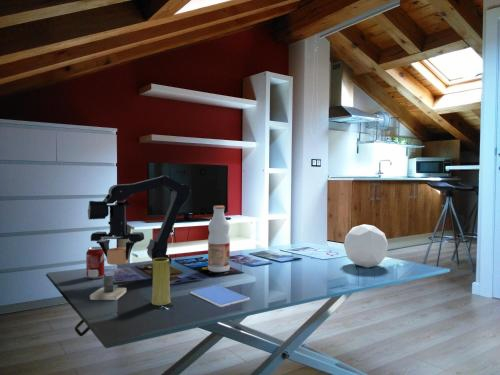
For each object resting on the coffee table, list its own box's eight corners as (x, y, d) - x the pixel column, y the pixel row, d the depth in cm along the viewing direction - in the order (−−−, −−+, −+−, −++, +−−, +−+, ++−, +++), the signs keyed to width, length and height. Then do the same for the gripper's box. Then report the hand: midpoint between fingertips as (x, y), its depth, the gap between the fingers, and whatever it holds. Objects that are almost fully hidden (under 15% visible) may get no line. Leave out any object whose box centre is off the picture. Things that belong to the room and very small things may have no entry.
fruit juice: (205, 268, 177) (205, 205, 176) (224, 266, 181) (224, 204, 180) (212, 273, 168) (212, 207, 167) (233, 271, 172) (233, 206, 171)
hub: (130, 260, 154) (130, 247, 154) (123, 264, 147) (123, 251, 147) (112, 260, 155) (112, 247, 155) (104, 264, 148) (104, 251, 148)
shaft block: (126, 292, 142) (126, 273, 141) (116, 300, 133) (116, 280, 132) (101, 291, 142) (101, 273, 142) (90, 299, 133) (89, 280, 133)
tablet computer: (251, 301, 134) (251, 297, 134) (220, 309, 126) (220, 305, 126) (218, 288, 149) (218, 284, 149) (188, 294, 141) (188, 291, 141)
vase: (153, 299, 133) (152, 257, 133) (171, 299, 134) (171, 257, 133) (150, 306, 127) (149, 261, 126) (169, 305, 128) (169, 261, 127)
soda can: (98, 280, 157) (98, 249, 157) (83, 279, 159) (82, 249, 158) (107, 275, 164) (107, 246, 163) (92, 274, 165) (92, 246, 165)
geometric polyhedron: (373, 283, 178) (383, 253, 166) (333, 262, 188) (339, 233, 175) (389, 257, 190) (399, 227, 178) (350, 238, 199) (358, 209, 187)
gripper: (148, 216, 158) (148, 255, 159) (102, 215, 159) (102, 254, 160) (139, 219, 147) (139, 261, 147) (89, 218, 148) (90, 260, 148)
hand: (117, 259), depth 151 cm, fingers closed on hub, 7 cm apart
